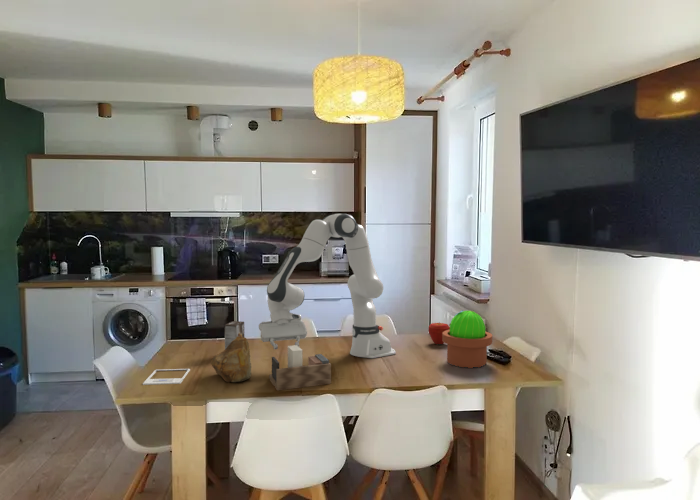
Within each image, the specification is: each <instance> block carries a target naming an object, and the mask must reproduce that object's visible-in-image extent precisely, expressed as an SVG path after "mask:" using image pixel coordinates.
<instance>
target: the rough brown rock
mask: <svg viewBox="0 0 700 500" xmlns="http://www.w3.org/2000/svg"><path fill="white" fill-rule="evenodd" d="M251 362H252V361H251V349H250V344H249V340H248V339H247V338H246V337H245V336H244V337H242V338H241V337H240V336H238V337H236V338H235V340H233V341H232V342H231V343H230V345H228V347H227V348H226V349H225V348H224V350H223V351H220V352H219V353H217V354H216V355H214V356H213V357H212V358H211V361H210V365H211V367H212V368H213V369H214V371H215V372H216V374H218V375H219V376H220V377H221V378H222V379H223V380H224V381H225V382H226V383H230V382H231V383H240V382H245V381H246V380H248V379H250V378H251V375H252V363H251Z"/></svg>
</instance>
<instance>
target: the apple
mask: <svg viewBox="0 0 700 500" xmlns="http://www.w3.org/2000/svg"><path fill="white" fill-rule="evenodd" d="M427 329H428V334H429V336H430V338H431V342H433V343H434V344H435V345H437V344H442V345H443V344H445V343H444V342H443V341H442V333H443V332H444V331H446V330H450V326H449V324H448V323H443V322H440V321H439V322H432V323H430V324H429V326H428V328H427Z"/></svg>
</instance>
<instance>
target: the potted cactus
mask: <svg viewBox="0 0 700 500" xmlns="http://www.w3.org/2000/svg"><path fill="white" fill-rule="evenodd" d="M451 318H452V319H451V321H450V323H449V324H448V325H449V327H450V330H446V331H444V332H443V333H442V341H443V342H444V343H443V344H447V345H446V347H447V348H446V349H447V350H446V361H447V363H448V364H449V363H450V365H451V364H452V365H451V366H454V365H455V367H458V366H459V368H464V367H468V368H467V369H474V368H473V367H478V368H481V366H482V367H484V366H486V365H487V355H488V352H487V350H488V347H490V346H491V345H492V344H493V334H492V333H490V332H488V331H486V324H485V321H484V319H483V318H482V316H481V315H480V314H479V313H478V312H475V311H474V310H461V311H459V312H458V313H456V314H455V315H454V316H453V317H451ZM485 364H486V365H485ZM483 365H484V366H483Z"/></svg>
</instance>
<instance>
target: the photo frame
mask: <svg viewBox="0 0 700 500" xmlns="http://www.w3.org/2000/svg"><path fill="white" fill-rule="evenodd" d="M160 371H162V372H163V371H164V372H165V371H167V372H168V371H186V372H185V373H184V375H183V376H182V377H180V378H177V377H176V378H175V377H173V378H153V376H154V375H155V374H156V373H157V372H160ZM190 371H191V368H176V369H175V368H174V369H173V368H171V369H170V368H168V369H167V368H166V369H155V370H153V372H152V373H151V374H150V375H149V376H148V377H147V378H146V380H144V381H143V382H142V385H143V386H145V385H148V386H149V385H176V384H177V385H179V384H182V382H183V381H184V379H185V378H186V376H187V375H188V374H189V372H190Z"/></svg>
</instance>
